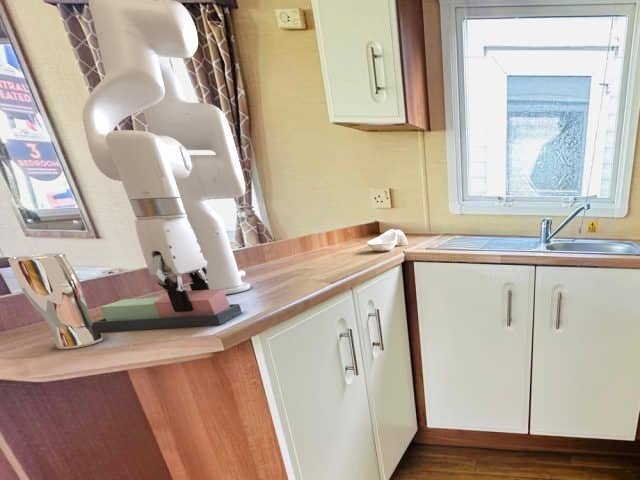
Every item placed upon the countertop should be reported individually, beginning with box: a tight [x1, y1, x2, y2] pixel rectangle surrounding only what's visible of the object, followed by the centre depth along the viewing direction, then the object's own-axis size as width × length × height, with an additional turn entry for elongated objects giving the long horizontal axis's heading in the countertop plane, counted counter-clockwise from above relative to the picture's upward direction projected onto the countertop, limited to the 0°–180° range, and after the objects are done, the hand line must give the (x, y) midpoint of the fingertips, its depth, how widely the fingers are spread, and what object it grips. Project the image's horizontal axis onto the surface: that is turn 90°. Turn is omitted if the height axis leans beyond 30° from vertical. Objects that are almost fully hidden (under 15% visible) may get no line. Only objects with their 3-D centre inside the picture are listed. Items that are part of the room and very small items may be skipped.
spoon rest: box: [366, 229, 409, 253], centre depth 177 cm, size 24×12×7 cm, turn 167°
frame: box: [92, 303, 243, 333], centre depth 85 cm, size 9×23×2 cm, turn 95°
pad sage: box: [99, 296, 163, 321], centre depth 84 cm, size 6×10×4 cm, turn 95°
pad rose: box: [154, 289, 230, 318], centre depth 84 cm, size 6×10×4 cm, turn 96°
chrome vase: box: [7, 252, 104, 350], centre depth 71 cm, size 7×7×15 cm
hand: (194, 306), depth 84 cm, fingers closed on pad rose, 6 cm apart
